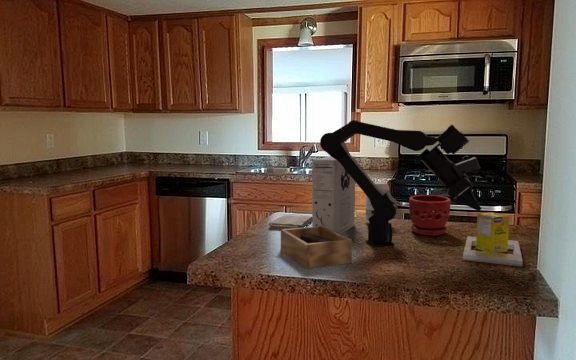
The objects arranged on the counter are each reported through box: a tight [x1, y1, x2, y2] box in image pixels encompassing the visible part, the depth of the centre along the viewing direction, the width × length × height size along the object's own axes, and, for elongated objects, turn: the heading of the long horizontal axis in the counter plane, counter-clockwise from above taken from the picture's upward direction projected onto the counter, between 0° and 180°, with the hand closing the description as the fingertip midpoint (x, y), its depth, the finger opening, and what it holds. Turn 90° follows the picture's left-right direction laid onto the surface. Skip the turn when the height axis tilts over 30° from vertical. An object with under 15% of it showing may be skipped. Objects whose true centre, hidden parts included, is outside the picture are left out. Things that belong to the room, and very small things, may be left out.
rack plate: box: [462, 235, 524, 267], centre depth 125 cm, size 22×14×2 cm, turn 155°
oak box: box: [280, 226, 353, 269], centre depth 121 cm, size 13×18×6 cm
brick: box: [300, 234, 333, 244], centre depth 125 cm, size 11×4×5 cm, turn 39°
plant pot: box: [408, 194, 451, 236], centre depth 148 cm, size 13×13×12 cm
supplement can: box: [365, 181, 390, 225], centre depth 163 cm, size 8×8×15 cm
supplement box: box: [475, 211, 510, 254], centre depth 125 cm, size 6×6×11 cm
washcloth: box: [268, 214, 312, 231], centre depth 161 cm, size 12×18×3 cm, turn 162°
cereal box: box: [311, 155, 357, 235], centre depth 150 cm, size 22×8×25 cm, turn 154°
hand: (478, 207), depth 125 cm, fingers open, 9 cm apart
